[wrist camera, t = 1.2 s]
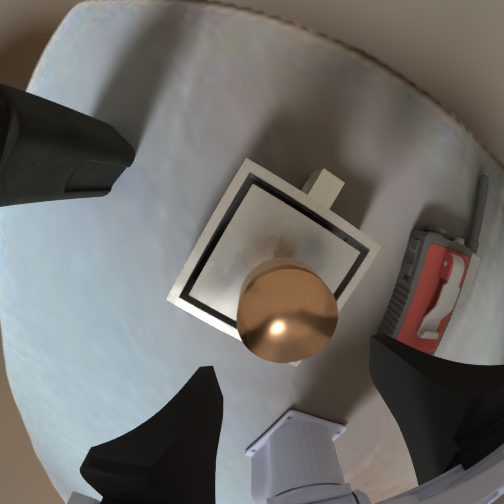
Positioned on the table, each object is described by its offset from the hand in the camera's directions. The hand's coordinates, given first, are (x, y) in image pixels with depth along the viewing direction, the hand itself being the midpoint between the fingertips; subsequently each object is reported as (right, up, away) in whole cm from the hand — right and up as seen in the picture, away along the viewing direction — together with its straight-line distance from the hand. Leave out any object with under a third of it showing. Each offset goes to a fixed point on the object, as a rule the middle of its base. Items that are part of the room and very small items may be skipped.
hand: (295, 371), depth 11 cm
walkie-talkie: (+15, +4, +10) cm, 19 cm away
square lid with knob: (0, +4, +6) cm, 8 cm away
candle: (-14, +13, +8) cm, 21 cm away
